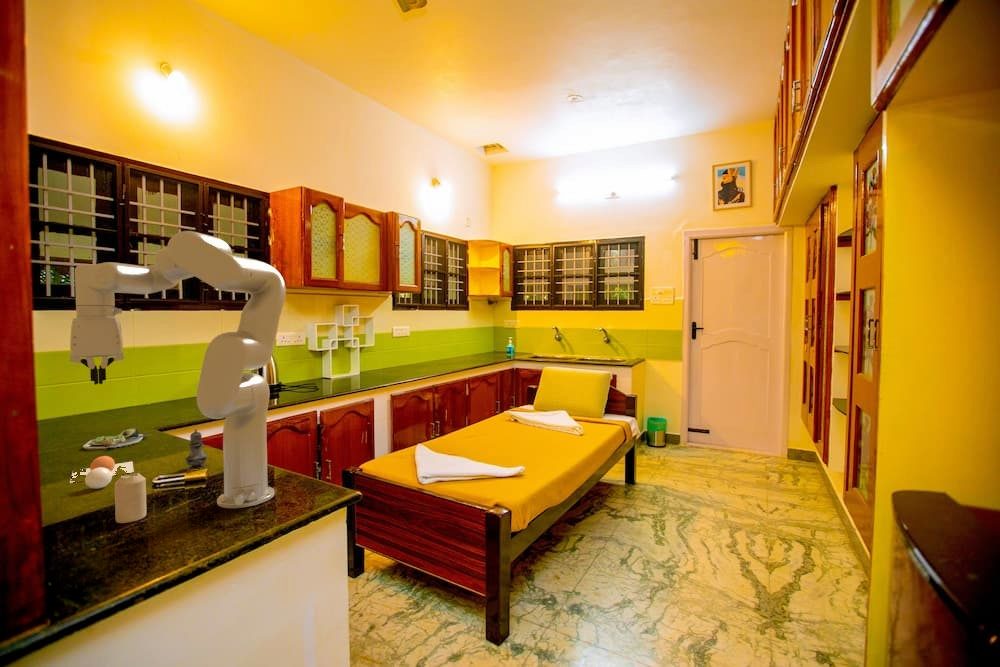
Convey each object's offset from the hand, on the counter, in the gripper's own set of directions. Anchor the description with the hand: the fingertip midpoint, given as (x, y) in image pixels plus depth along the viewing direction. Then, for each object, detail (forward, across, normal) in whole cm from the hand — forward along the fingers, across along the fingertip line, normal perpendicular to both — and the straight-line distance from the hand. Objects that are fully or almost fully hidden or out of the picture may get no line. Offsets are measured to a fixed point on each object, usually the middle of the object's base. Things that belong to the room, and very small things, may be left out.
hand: (98, 383), depth 119 cm
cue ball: (+26, +1, -6) cm, 27 cm away
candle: (+29, -5, +24) cm, 38 cm away
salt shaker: (+29, -22, -9) cm, 37 cm away
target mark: (+29, 0, -23) cm, 37 cm away
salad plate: (+29, -3, -64) cm, 71 cm away
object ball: (+26, 0, -20) cm, 33 cm away
